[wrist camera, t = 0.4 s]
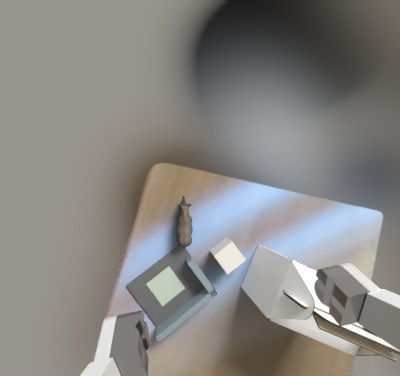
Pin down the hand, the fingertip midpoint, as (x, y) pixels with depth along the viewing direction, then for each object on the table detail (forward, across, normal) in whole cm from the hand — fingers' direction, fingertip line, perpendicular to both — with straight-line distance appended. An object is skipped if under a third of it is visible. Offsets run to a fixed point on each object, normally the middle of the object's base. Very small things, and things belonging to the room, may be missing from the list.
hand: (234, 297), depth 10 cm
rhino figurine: (+46, 0, -24) cm, 52 cm away
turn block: (+41, +9, -34) cm, 54 cm away
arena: (+38, -7, -39) cm, 55 cm away
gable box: (+36, +25, -44) cm, 63 cm away
